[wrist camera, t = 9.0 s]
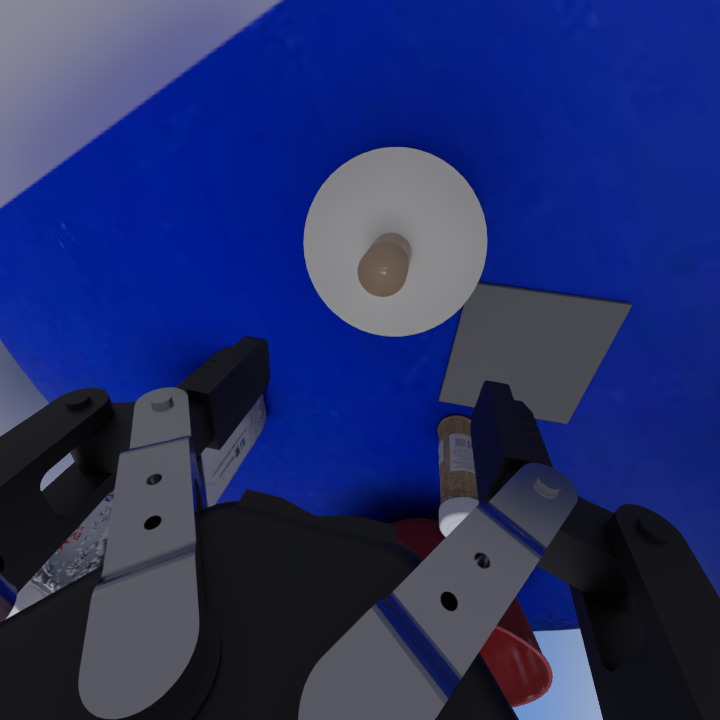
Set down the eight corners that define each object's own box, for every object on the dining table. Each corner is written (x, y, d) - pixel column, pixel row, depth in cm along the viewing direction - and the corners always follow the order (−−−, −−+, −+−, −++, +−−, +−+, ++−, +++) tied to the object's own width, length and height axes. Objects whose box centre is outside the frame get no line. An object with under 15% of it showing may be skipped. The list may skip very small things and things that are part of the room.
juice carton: (275, 423, 46) (120, 679, 23) (206, 412, 48) (-3, 642, 25) (268, 368, 41) (66, 622, 19) (191, 358, 43) (-81, 581, 20)
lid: (510, 156, 22) (533, 155, 17) (460, 341, 29) (466, 380, 24) (307, 139, 24) (272, 133, 19) (308, 318, 31) (283, 349, 26)
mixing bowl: (559, 517, 45) (609, 663, 32) (481, 608, 60) (493, 731, 47) (357, 461, 47) (327, 577, 34) (331, 562, 62) (303, 669, 49)
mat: (628, 302, 30) (632, 305, 29) (565, 420, 37) (567, 424, 37) (469, 281, 31) (469, 283, 31) (438, 397, 39) (438, 400, 38)
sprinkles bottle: (430, 429, 41) (428, 530, 30) (454, 407, 39) (462, 507, 28) (459, 447, 42) (468, 553, 31) (485, 426, 40) (505, 533, 28)
